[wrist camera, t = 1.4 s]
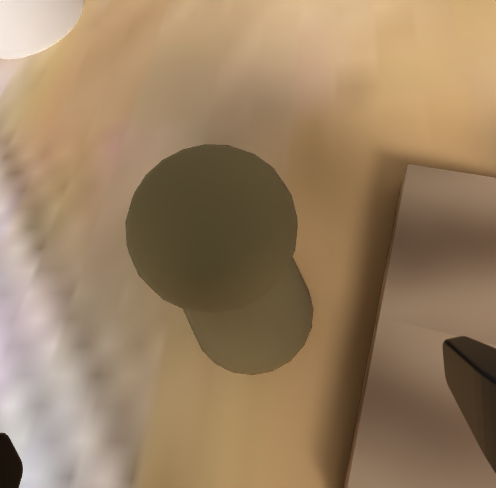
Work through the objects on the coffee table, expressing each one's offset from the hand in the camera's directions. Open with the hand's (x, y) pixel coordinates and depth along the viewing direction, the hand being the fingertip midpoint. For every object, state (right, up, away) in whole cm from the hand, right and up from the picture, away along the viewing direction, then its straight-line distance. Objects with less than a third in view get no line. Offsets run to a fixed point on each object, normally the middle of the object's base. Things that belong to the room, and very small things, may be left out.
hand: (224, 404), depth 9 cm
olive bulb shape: (+1, 0, +13) cm, 13 cm away
